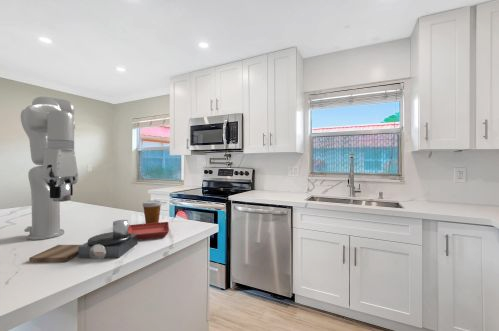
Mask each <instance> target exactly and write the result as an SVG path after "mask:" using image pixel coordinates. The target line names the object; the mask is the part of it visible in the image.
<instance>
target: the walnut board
mask: <svg viewBox="0 0 499 331" xmlns="http://www.w3.org/2000/svg"><path fill="white" fill-rule="evenodd" d="M81 245H82V244H56V245H55V246H53V247H51V248H48V249H46V250H43V251H41V252H39V253H37V254H34V255H33V256H30V257H28V258H29V259H28V260H29V263H66V262H68V261H70V260H72V259H74V258H75V257H78V247H79V246H81Z"/></svg>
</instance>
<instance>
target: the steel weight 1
mask: <svg viewBox="0 0 499 331" xmlns="http://www.w3.org/2000/svg"><path fill="white" fill-rule="evenodd" d="M58 187H60V196H61V197H60V198H53V201H60V202H67V201H71V198H72V197H71V187H70V183H59V186H58Z"/></svg>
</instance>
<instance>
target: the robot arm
mask: <svg viewBox="0 0 499 331" xmlns="http://www.w3.org/2000/svg"><path fill="white" fill-rule="evenodd" d="M74 115H75V106H74V104H73V103H72V102H71V101H70V100H67V99H63V98H57V97H52V96H51V97H49V96H37V97H35V98H34V99H33V100H32V103H31V105H28V106H26V107H25V108H24V109H22V110H21V112H20V123H21V126H22V128H23V131H24V132H25V134H26V135H27V138H28V140H29V149H30V150H29V151H30V157H31V161H32V163H33V164H34V165H36V166H33V167H31V168H30V169H29V171H28V173H27V174H28V175H27V176H28V181H29V182H28V183H29V186H30V187H29V188H30V194H31V225H30V226H26V228H24V232H29V234H28V235H27V236H26V238H27V240H29V241H30V240H31V241H35V240H36V241H37V240H38V241H39V240H45V239H46V240H47V239H51V238H57V237H59V236H62V235H63V234H65V230H64V229H63V228H61V214H60V213H61V207H60V206H61V201H53V198H60V197H61V196H60V187H58V186H59V183H70V187H71V196H73V193H74V192H73V191H74V189H73V188H74V187H73V186H74V185H77V183H78V182H79V172H78V165H77V158H76V151H75V129H76V122H75V116H74Z"/></svg>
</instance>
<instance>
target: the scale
mask: <svg viewBox="0 0 499 331" xmlns="http://www.w3.org/2000/svg"><path fill="white" fill-rule="evenodd" d="M138 242H139V240H138V234H130V233H128V237H127V238H124V239H113V231H111V232H105V233H101V234H96V235H93V236H92V237H89V238H88V239H87V242H85V243H83V244H80V245H81V246H79V247H78V255H77V257H78V259H92V260H103V259H119V258H121V257H122V256H124V255H125V254H126V253H128V252H130V251H131V250H132V248H134V247H135V246H137V245H138Z"/></svg>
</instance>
